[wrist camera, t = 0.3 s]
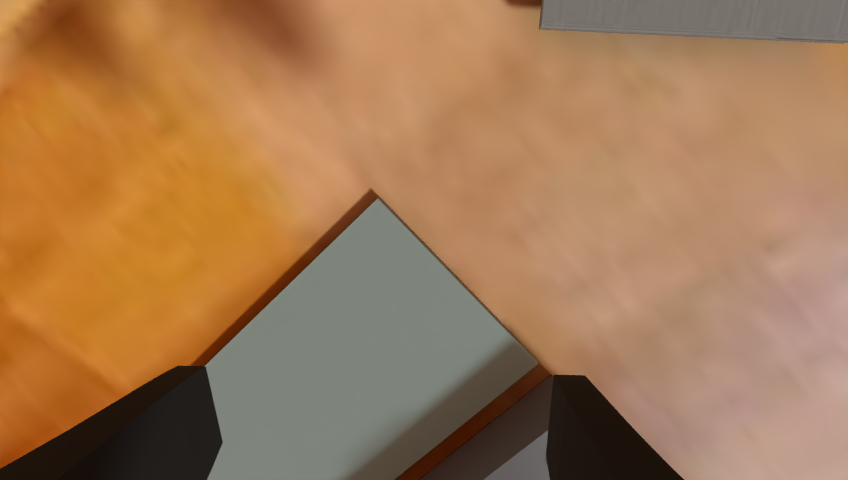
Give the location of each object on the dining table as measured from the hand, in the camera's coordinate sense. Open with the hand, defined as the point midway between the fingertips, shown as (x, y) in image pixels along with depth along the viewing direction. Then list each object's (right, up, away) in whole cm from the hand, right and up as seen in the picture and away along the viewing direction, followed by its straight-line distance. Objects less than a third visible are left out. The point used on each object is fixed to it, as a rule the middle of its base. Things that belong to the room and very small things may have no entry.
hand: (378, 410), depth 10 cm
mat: (-3, -4, +12) cm, 13 cm away
